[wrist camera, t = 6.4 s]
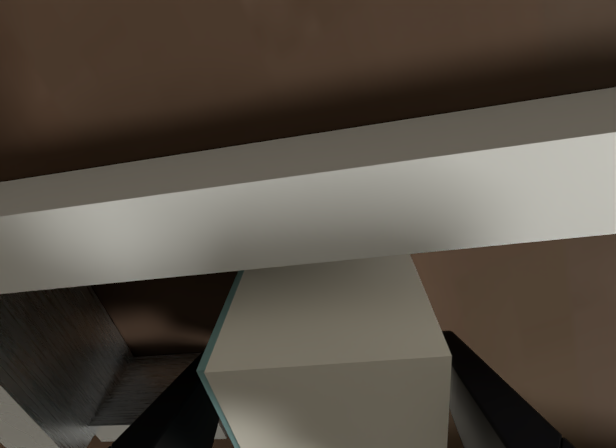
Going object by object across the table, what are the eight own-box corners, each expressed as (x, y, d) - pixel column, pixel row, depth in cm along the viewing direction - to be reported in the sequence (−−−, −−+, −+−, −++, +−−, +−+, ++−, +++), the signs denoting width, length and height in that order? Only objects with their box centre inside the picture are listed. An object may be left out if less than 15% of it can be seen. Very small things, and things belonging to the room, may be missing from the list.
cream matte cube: (399, 228, 10) (452, 356, 6) (404, 336, 13) (444, 486, 8) (242, 247, 11) (186, 374, 7) (274, 346, 13) (247, 489, 9)
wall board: (747, 66, 8) (1036, 74, 4) (712, 149, 8) (930, 202, 5) (-27, 186, 10) (-176, 240, 7) (9, 237, 11) (-110, 304, 8)
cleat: (189, 214, 10) (117, 295, 7) (246, 365, 14) (217, 471, 10) (9, 237, 11) (-135, 318, 8) (104, 373, 15) (33, 472, 11)
